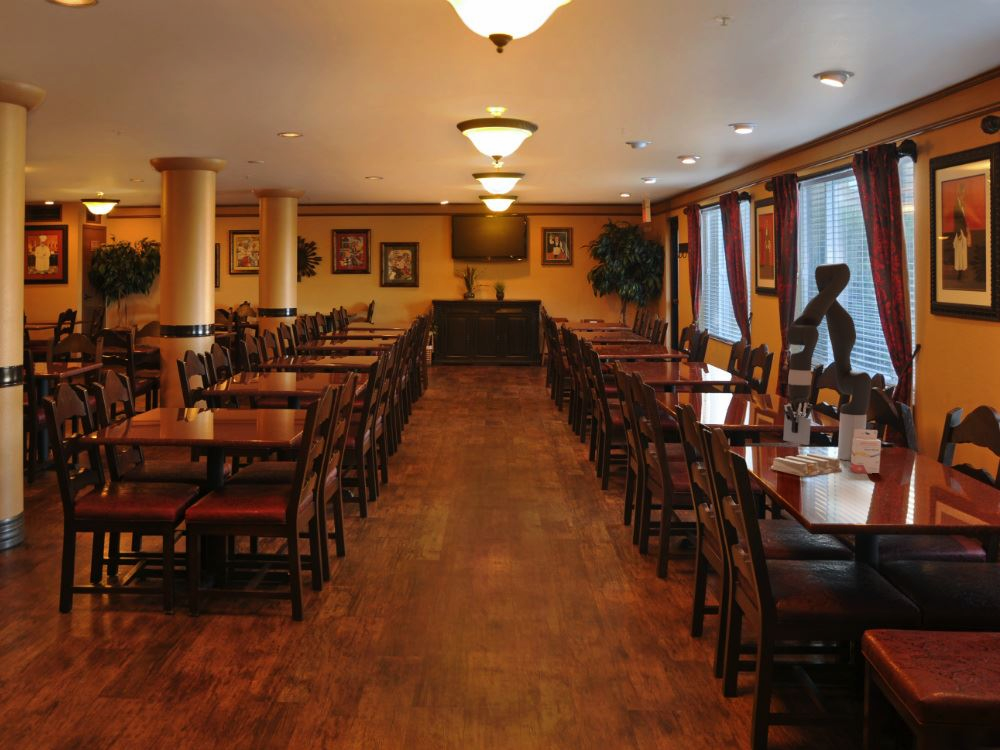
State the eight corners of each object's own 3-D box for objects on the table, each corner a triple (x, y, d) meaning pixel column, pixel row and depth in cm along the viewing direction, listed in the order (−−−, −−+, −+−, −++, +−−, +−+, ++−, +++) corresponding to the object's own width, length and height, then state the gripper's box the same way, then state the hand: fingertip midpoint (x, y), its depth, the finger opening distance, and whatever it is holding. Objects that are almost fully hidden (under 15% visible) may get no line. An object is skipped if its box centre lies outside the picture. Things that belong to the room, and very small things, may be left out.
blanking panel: (786, 440, 325) (787, 414, 324) (809, 444, 316) (810, 418, 315) (783, 440, 324) (784, 414, 323) (806, 445, 315) (807, 418, 314)
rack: (809, 463, 335) (809, 452, 335) (841, 470, 323) (842, 459, 323) (770, 468, 324) (771, 457, 324) (802, 476, 313) (803, 464, 312)
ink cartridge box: (854, 473, 320) (856, 431, 319) (850, 470, 325) (852, 428, 324) (879, 474, 319) (882, 432, 318) (875, 471, 324) (877, 429, 323)
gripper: (804, 381, 325) (801, 429, 326) (777, 382, 317) (774, 432, 319) (821, 383, 318) (818, 433, 320) (794, 384, 311) (791, 435, 313)
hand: (796, 432), depth 320 cm, fingers closed on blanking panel, 1 cm apart
